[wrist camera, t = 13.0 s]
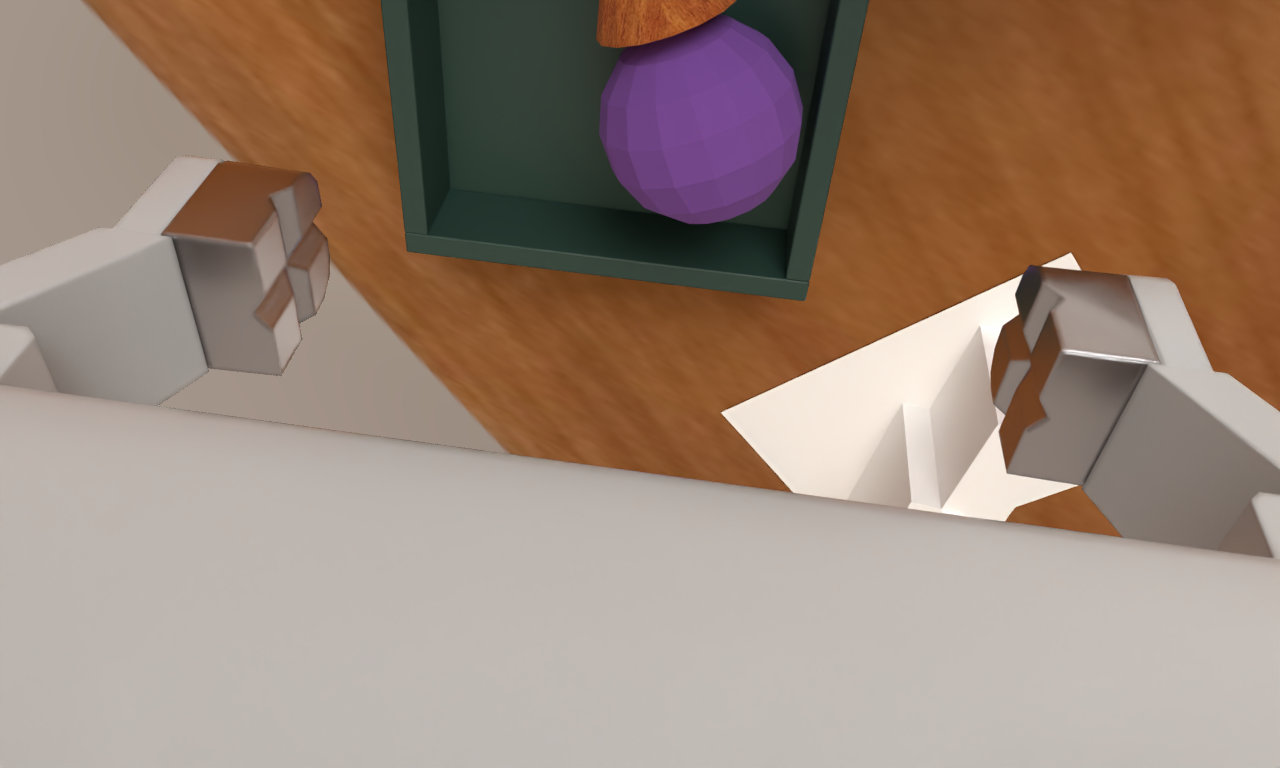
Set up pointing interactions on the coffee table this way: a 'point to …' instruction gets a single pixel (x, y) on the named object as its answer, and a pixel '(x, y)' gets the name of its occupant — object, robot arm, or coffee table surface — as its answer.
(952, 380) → the napkin holder
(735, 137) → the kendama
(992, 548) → the robot arm
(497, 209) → the tray
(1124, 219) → the coffee table surface
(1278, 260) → the coffee table surface
